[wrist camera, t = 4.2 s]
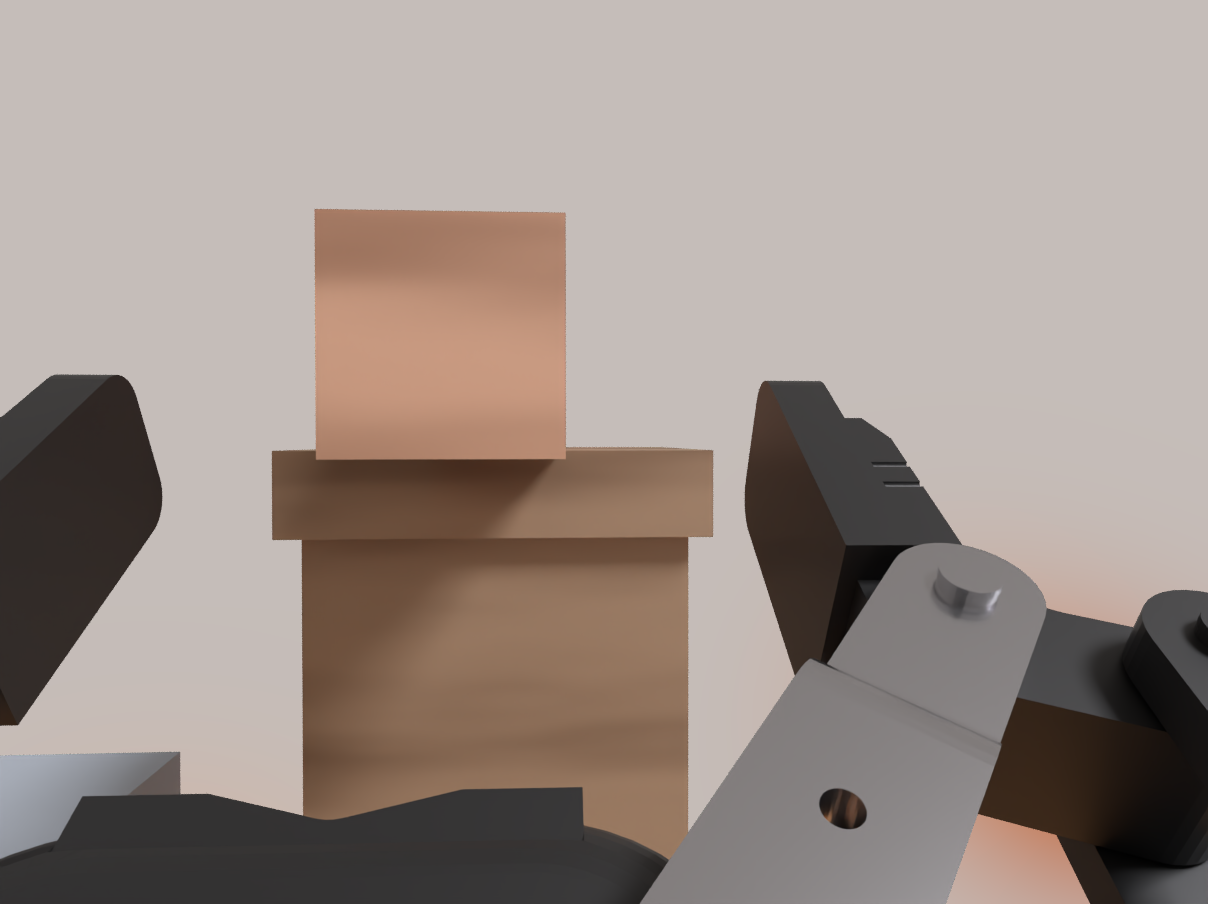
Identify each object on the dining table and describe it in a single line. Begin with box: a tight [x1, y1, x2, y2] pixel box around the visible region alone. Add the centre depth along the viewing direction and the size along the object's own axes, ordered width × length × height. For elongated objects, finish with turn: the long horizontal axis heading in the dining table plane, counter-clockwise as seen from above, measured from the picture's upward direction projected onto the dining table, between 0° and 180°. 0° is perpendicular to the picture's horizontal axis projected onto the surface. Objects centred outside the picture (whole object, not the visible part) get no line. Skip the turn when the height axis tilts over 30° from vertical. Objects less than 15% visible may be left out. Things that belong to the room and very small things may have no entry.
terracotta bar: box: [315, 209, 566, 460], centre depth 21 cm, size 22×3×3 cm, turn 3°
